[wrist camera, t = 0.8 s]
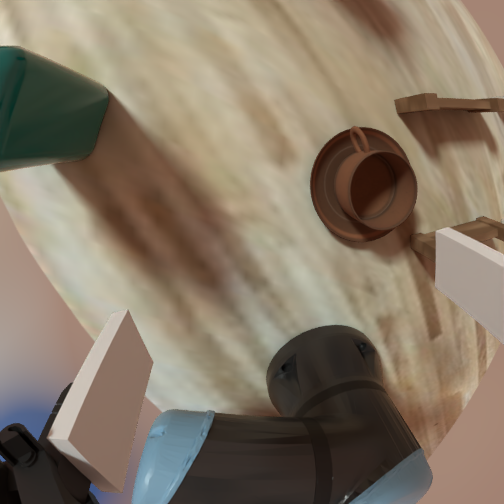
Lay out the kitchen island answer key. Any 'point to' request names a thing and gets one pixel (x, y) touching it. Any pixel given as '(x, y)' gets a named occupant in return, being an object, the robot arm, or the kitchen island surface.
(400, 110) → the brown wooden rail pair
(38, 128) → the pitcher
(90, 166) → the kitchen island surface
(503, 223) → the posts
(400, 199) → the cup and saucer
